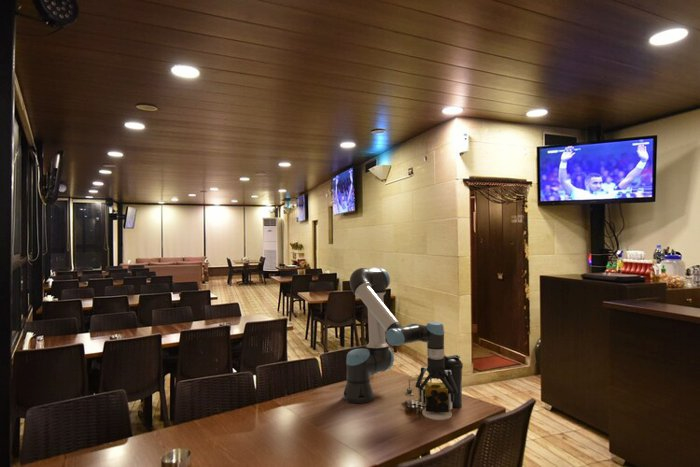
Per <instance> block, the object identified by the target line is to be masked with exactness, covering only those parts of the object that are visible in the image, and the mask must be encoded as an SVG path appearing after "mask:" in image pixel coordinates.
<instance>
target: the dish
mask: <svg viewBox="0 0 700 467" xmlns="http://www.w3.org/2000/svg"><path fill="white" fill-rule="evenodd" d="M422 416H423V417H424V418H426V419H430V420H434V421H445V420H449V419H451V418H452V416H453V412H452V410H449V412H446V413H445V412H427V411H426V407H425V408H423V409H422Z"/></svg>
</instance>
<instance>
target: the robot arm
mask: <svg viewBox="0 0 700 467" xmlns="http://www.w3.org/2000/svg"><path fill="white" fill-rule="evenodd" d="M390 284H391V277H390V273H388V271H386V269H384V268H382V267H359V268H357V269H356V270H353V271H352V273H351V275H350V277H349V286H350V287H349V288H350V290H352V293H353V295H354V296H355V297H357V298H359V299H360V300H361V301H362V302H363V304H364V305H365V307H366V308H367V323H368V344H367V345H366V348H355V349H352V350H349V351H348V352H347V354H346V362H345V363H346V364H345V365H346V384H345V388H344V390H343V393H342V395H343V397H342V398H343V400H344V401H345V402H346V403H351V404H366V403H369V402H371V401H373V400H374V398H375V396H374V391H373V388H372V384H371V375H374V374H377V373H382V372H383V373H384V372H386V371H388V370H390V369H391V368H392V366H393V365H394V362H395V357H394V356H395V355H394V352H393V351H392V349H391V348H390V346H402V345H405V344H410V343H416V342H421V343H426V347H427V349H426V351H427V354H426V356H427V367H426V366H425V365H424V366H421V367H420V373H419V378H418V380H417V381H416V383H415V388H417V389H418V388H419V391H420V396H421V397H422V405H424V404H425V384H426V383H427V382H430V380H429V379H430V378H432V379H436V380H440V381H441V383H442V382H443V383H444V385H445V387H446V388H448V391H449V393H450V394H449V410H450V411H452V409H453V408H452V402H454V394H457V393H458V388H457V386H456V383H455V381H454V379H453V376H452V370H449V371H448V370H445V363H444V358H443V357H444V355H445V329H444V324H443V323H442V322H438V321H429V322H427V323H426V325H425V324H418V323H409V324H408V325H406V326H403V325H402V324H401V323H400V321H399V320H398V319H397V318H396V316H395V315H394V314H393V313H392V312H391V310H390V309H389V308H388V306H387V305H386V304H385V303H384V302H385V301H384V296H385V295H386V293H387V289H388V288H389V286H390ZM426 372H427V373H428V374H427V376H426V377H427V378H426V379H425V380H422V378H423V377H425V373H426ZM445 373H446V374H447V376H448V378H449V381H450V383H451V386H452V387H451V386H450V384H449V383H448V381H447V380H446V377H445V376H444V374H445ZM421 381H422V384H421V385H420V383H421ZM452 388H453V389H452Z"/></svg>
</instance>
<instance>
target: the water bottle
mask: <svg viewBox="0 0 700 467" xmlns="http://www.w3.org/2000/svg"><path fill="white" fill-rule="evenodd" d="M443 358H444V363H445V370H448V371H449V370H452V376H453V379H454V381H455V383H456V386H457V388H458V393H457V394H454V402H452V409H460V408H462V407H463V406H462V403H463V401H462V400H463V398H462V396H463V366H464V365H463V364H464V363H463V362H462V360H460V359H461V356H460V355H458V354H455V355H449V356H448V355H445V354H444V357H443ZM444 376H445V377H446V380H447V381H448V383H449V384H450V386H451V383H450V381H449V378H448V376H447V374H446V373H445V374H444ZM441 383H443V382H442V381H441ZM451 387H452V386H451ZM452 389H453V388H452ZM449 394H450V393H449V391H448V404H449Z"/></svg>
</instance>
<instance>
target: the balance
mask: <svg viewBox="0 0 700 467" xmlns="http://www.w3.org/2000/svg"><path fill="white" fill-rule="evenodd" d="M419 375H420V374H419ZM419 375H417V377H409V378H407V381H408V388H406V391H405V392H404V393H403V394H404V396H405V397H414V396H416V394H415V392H413V389H412V388H411V382H415V381H416V382H417V380H418V378H419ZM426 378H427V376H423V378H422V381H421V383H420V385H421V384H422V383H423V381H424V380H425V379H426ZM432 379H433V378H430V379H429V382H430V383H433V382H432ZM417 397H418V399H415V400H414V401H419V402H422V397H421V396H420V391H419V388H417ZM425 405H426V404H425Z"/></svg>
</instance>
